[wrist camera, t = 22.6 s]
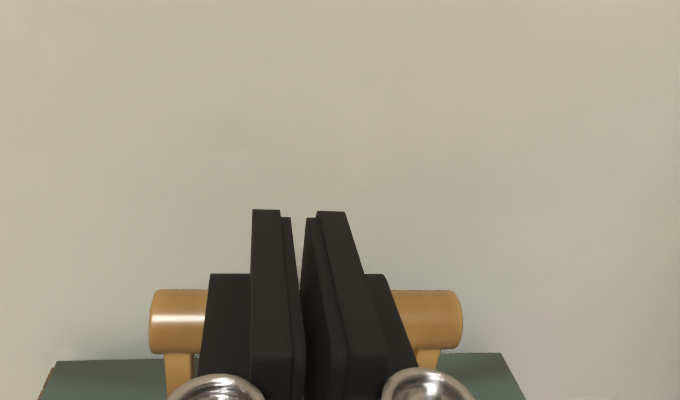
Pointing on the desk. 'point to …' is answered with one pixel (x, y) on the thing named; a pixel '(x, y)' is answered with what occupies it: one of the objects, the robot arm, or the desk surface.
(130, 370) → the drawer
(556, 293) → the desk surface
